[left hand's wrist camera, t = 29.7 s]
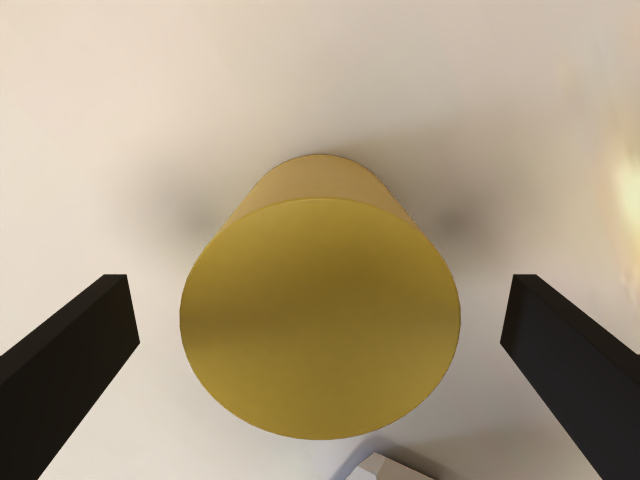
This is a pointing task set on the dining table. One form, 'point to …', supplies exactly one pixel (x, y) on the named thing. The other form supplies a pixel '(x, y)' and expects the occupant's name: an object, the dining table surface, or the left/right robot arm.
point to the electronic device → (384, 470)
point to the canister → (320, 305)
